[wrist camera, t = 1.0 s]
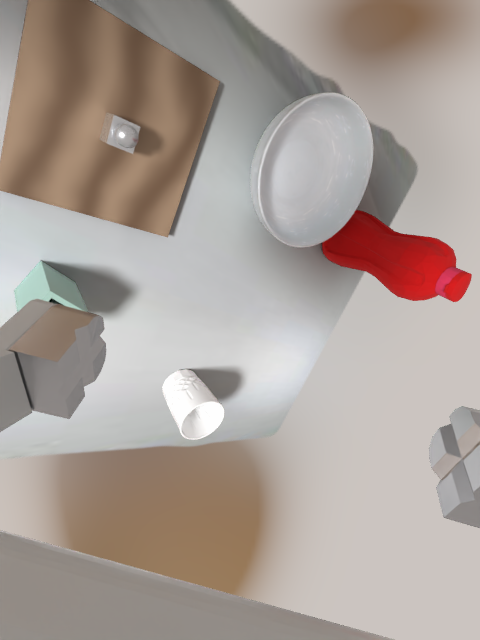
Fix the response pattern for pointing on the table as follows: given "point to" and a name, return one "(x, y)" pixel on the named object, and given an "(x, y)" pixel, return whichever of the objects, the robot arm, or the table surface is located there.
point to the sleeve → (48, 288)
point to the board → (101, 117)
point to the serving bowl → (312, 168)
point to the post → (119, 133)
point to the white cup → (192, 404)
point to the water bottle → (398, 259)
